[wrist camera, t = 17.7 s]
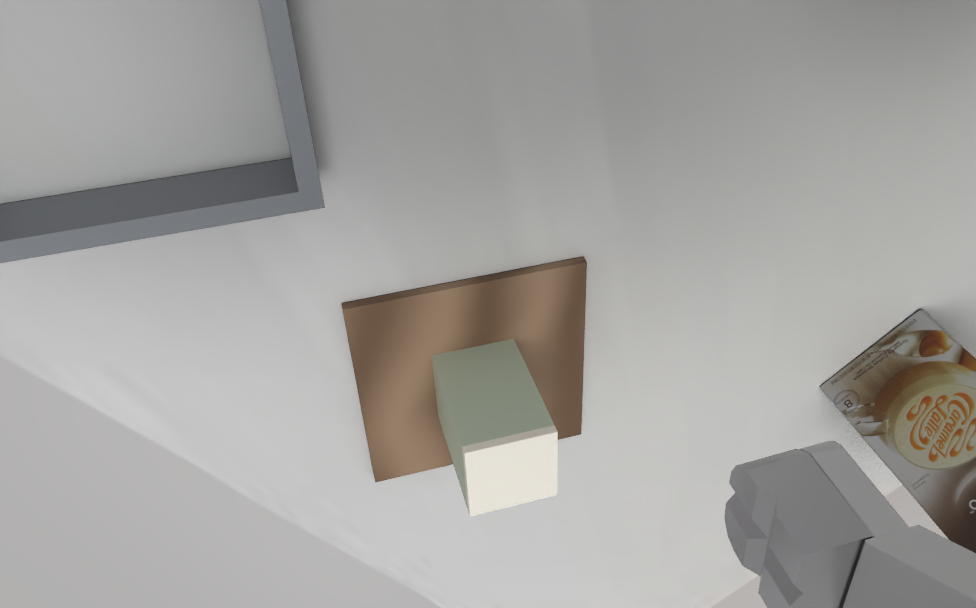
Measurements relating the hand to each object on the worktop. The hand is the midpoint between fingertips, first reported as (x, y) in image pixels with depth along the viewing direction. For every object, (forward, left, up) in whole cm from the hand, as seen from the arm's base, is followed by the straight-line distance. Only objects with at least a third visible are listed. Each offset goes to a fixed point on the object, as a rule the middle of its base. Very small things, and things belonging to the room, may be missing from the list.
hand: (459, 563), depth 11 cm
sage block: (-7, +24, -30) cm, 39 cm away
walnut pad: (-7, +24, -31) cm, 40 cm away
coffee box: (-38, +32, -31) cm, 58 cm away
